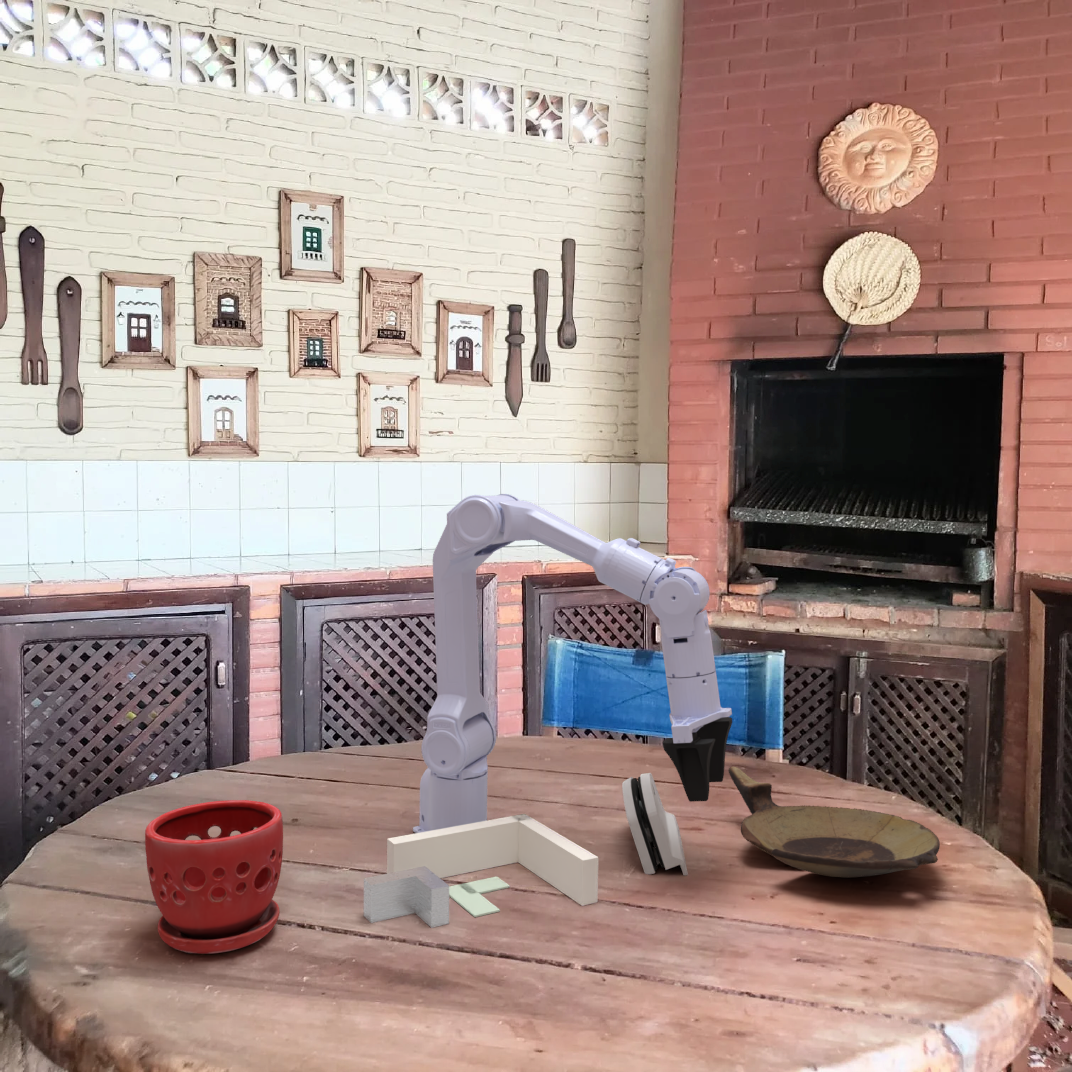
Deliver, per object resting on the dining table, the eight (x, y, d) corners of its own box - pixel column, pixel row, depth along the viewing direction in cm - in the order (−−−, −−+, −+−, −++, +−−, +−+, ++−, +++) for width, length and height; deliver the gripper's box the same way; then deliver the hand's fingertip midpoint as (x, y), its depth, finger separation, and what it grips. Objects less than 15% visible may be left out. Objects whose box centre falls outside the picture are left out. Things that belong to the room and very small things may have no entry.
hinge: (688, 876, 119) (661, 796, 118) (649, 888, 119) (622, 808, 119) (678, 826, 135) (654, 756, 135) (644, 837, 136) (620, 766, 135)
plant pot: (275, 899, 110) (275, 791, 110) (290, 954, 98) (290, 832, 97) (146, 916, 106) (145, 802, 105) (144, 975, 93) (144, 847, 93)
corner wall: (386, 881, 116) (387, 838, 115) (524, 853, 125) (524, 813, 124) (448, 938, 102) (449, 889, 101) (597, 902, 111) (598, 857, 111)
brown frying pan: (796, 918, 108) (798, 847, 108) (697, 822, 138) (699, 766, 137) (984, 904, 112) (987, 836, 112) (849, 814, 142) (851, 760, 141)
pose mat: (441, 889, 114) (441, 888, 114) (496, 878, 117) (496, 876, 117) (474, 917, 107) (474, 915, 107) (532, 903, 110) (532, 902, 110)
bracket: (385, 938, 102) (385, 899, 101) (363, 915, 107) (363, 878, 106) (448, 923, 105) (449, 885, 105) (424, 902, 110) (425, 866, 110)
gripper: (710, 683, 109) (727, 809, 109) (738, 660, 122) (753, 772, 122) (647, 687, 111) (663, 810, 111) (681, 664, 125) (695, 774, 125)
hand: (706, 790), depth 117 cm, fingers open, 7 cm apart
